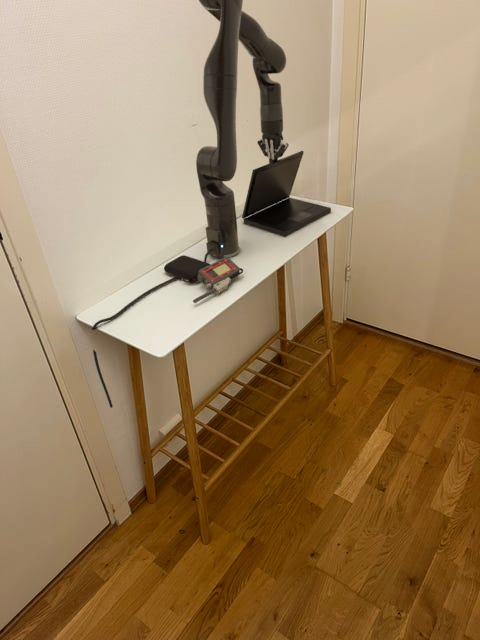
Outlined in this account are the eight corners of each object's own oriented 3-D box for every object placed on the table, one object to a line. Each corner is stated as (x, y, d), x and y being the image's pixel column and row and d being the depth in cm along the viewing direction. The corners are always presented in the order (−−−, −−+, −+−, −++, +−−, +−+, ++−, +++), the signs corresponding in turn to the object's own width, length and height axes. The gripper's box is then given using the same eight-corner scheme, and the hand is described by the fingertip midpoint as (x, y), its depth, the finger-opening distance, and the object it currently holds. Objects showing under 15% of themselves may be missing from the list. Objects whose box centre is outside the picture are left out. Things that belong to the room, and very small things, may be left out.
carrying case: (159, 274, 139) (193, 287, 130) (157, 266, 137) (191, 278, 129) (184, 260, 145) (217, 272, 137) (182, 252, 143) (216, 263, 135)
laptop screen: (304, 151, 163) (302, 150, 164) (254, 171, 149) (252, 169, 150) (289, 197, 179) (287, 196, 179) (243, 218, 165) (241, 217, 165)
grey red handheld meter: (249, 272, 131) (196, 301, 120) (246, 282, 134) (194, 311, 123) (229, 253, 133) (176, 280, 123) (226, 263, 137) (174, 290, 126)
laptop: (330, 212, 167) (330, 207, 166) (284, 236, 153) (284, 231, 152) (289, 201, 180) (289, 197, 179) (243, 223, 166) (243, 218, 165)
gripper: (249, 117, 153) (253, 169, 163) (279, 121, 144) (280, 175, 154) (264, 113, 157) (267, 163, 167) (294, 116, 148) (294, 169, 158)
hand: (273, 169), depth 160 cm, fingers closed
